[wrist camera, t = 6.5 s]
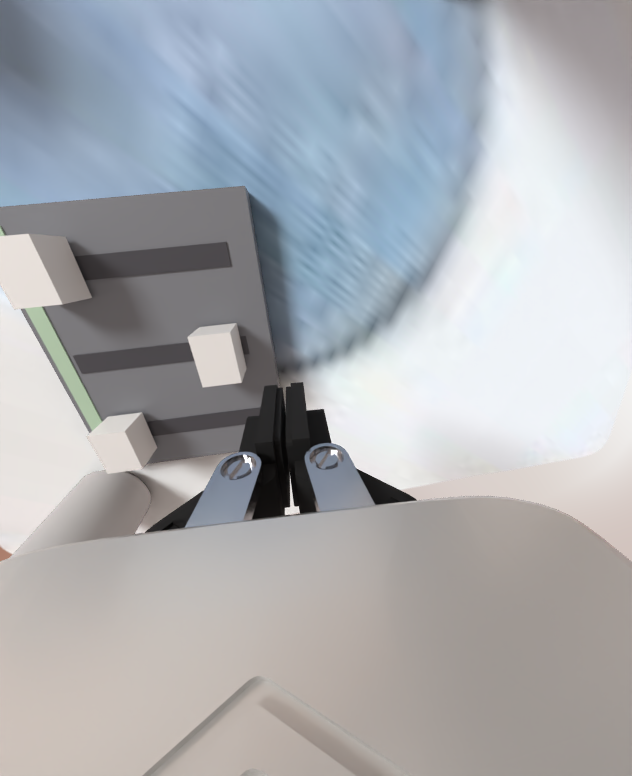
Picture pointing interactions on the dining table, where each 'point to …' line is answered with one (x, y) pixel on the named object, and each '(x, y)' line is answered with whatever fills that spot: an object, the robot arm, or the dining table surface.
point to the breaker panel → (143, 315)
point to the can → (93, 512)
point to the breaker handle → (218, 354)
